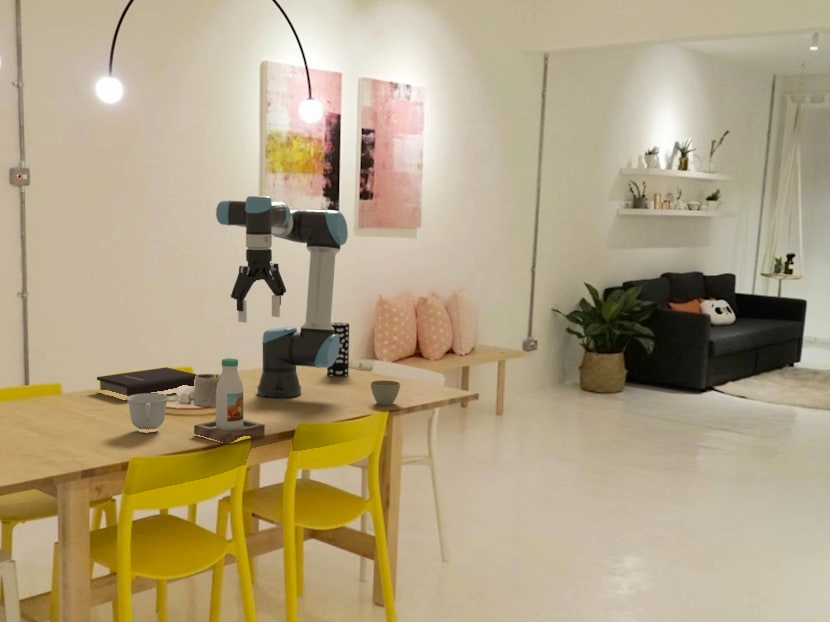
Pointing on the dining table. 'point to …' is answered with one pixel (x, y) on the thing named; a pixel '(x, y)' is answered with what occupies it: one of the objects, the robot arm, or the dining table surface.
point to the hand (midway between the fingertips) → (259, 319)
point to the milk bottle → (229, 397)
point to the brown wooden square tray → (229, 436)
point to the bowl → (385, 391)
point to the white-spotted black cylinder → (341, 351)
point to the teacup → (147, 410)
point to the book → (146, 381)
